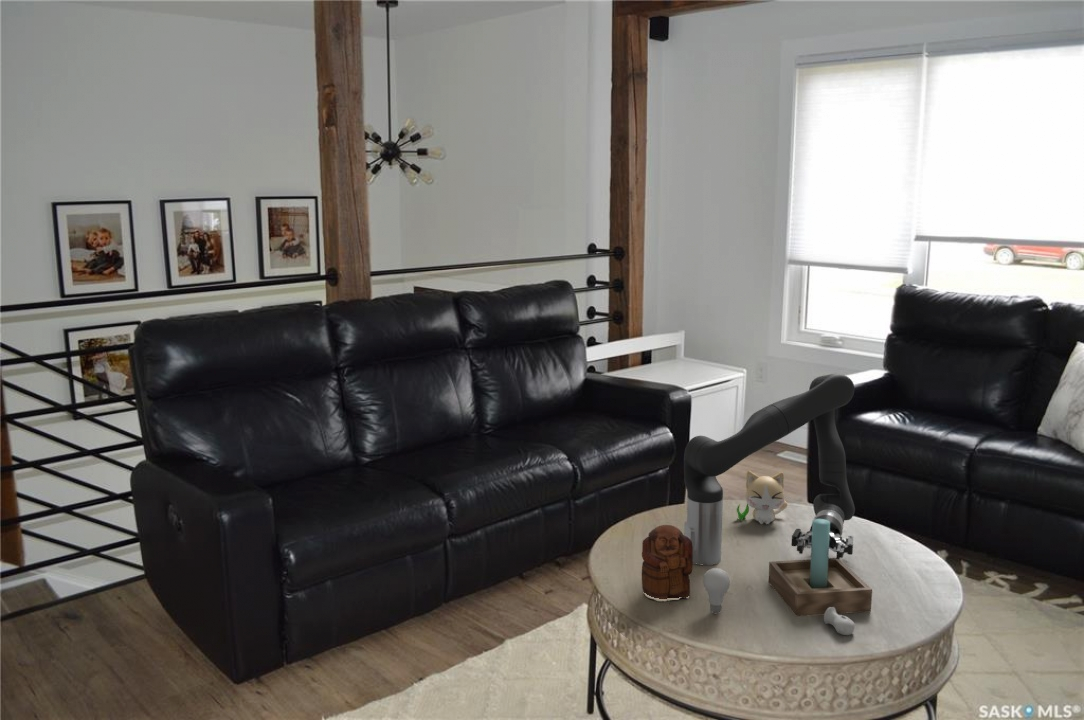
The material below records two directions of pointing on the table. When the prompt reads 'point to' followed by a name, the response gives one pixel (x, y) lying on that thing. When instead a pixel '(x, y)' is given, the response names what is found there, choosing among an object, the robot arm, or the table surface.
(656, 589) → the wooden figurine
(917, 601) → the table surface
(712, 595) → the lightbulb
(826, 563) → the peg
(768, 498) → the kitten
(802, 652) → the table surface
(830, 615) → the pale two-lobed sculpture
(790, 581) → the box
